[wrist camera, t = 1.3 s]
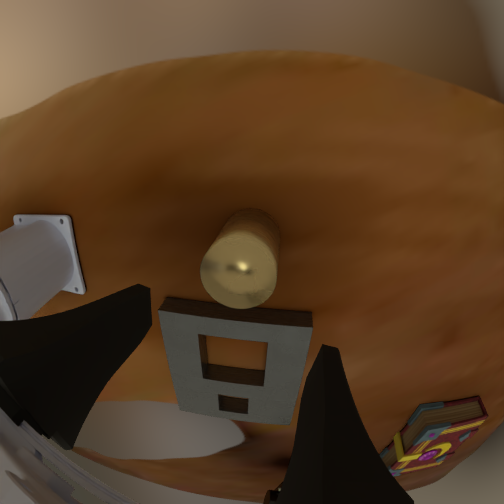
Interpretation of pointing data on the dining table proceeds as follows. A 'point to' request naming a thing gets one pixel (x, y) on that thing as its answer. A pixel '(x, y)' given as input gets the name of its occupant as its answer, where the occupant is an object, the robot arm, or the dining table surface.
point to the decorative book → (433, 435)
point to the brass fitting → (243, 260)
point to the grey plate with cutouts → (229, 378)
